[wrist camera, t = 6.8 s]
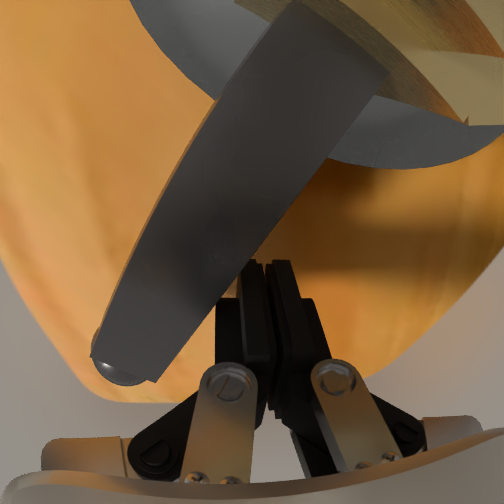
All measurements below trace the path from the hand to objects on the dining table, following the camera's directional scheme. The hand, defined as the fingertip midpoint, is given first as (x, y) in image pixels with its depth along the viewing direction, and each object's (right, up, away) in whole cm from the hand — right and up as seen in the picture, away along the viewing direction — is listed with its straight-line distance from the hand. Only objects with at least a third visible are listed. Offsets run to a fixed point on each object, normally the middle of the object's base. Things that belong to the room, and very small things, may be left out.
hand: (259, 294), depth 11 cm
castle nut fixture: (+1, +7, -3) cm, 8 cm away
